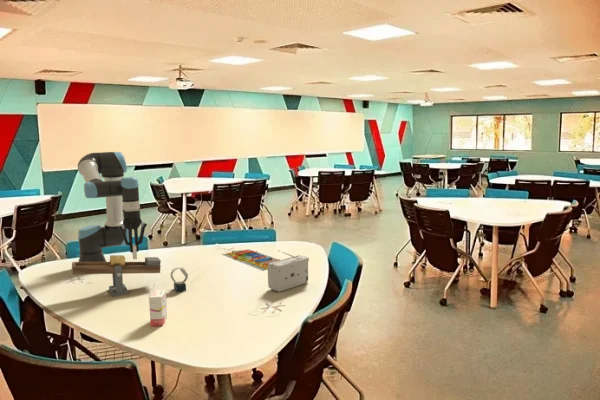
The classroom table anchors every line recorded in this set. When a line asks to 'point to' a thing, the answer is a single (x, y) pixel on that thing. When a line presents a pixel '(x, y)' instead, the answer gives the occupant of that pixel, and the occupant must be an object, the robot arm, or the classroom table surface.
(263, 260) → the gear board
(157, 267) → the balance beam
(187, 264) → the classroom table surface
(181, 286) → the watch
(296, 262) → the stereo radio cassette player
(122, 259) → the brass rider
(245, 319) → the classroom table surface
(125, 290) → the pivot stand
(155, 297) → the ink cartridge box
